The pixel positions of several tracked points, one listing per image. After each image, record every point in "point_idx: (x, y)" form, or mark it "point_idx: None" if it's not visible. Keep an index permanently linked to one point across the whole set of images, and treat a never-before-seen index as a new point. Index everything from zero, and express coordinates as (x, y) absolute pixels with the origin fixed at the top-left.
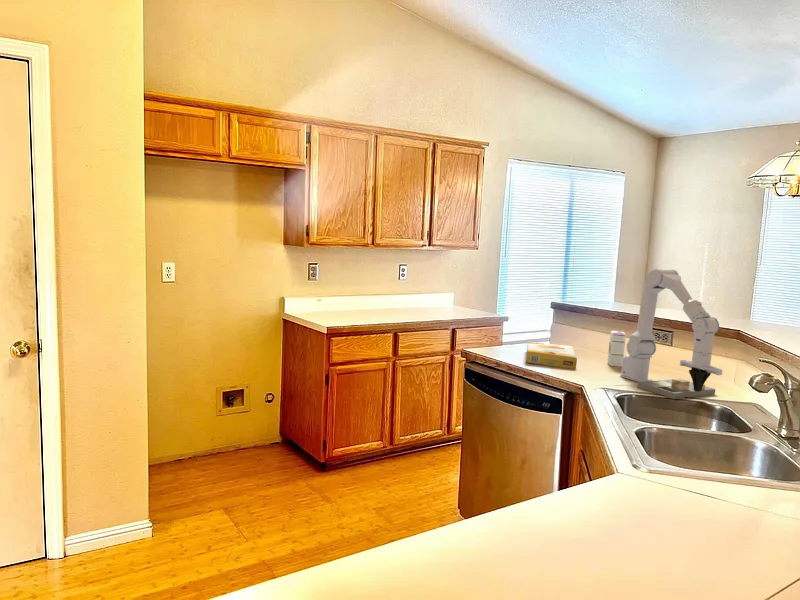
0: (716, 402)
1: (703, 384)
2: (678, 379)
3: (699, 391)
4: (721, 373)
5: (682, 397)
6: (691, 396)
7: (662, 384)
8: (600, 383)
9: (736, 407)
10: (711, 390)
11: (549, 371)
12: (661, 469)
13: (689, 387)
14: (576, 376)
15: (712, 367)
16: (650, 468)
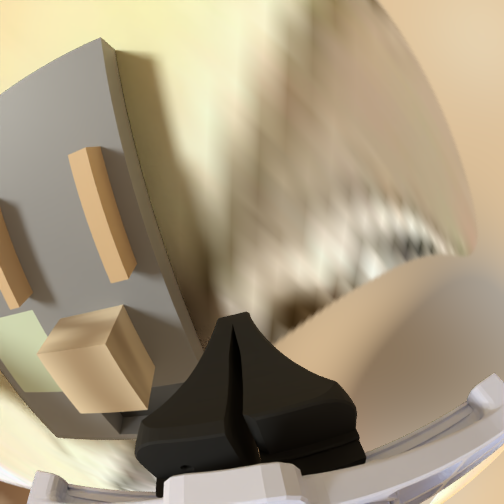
0: (309, 205)
1: (264, 339)
2: (74, 385)
3: (149, 233)
4: (501, 388)
5: None
6: (182, 298)
7: (48, 376)
8: (64, 468)
9: (408, 160)
10: (110, 82)
11: (9, 471)
12: None
13: (63, 251)
14: (19, 462)
15: (411, 472)
16: None
